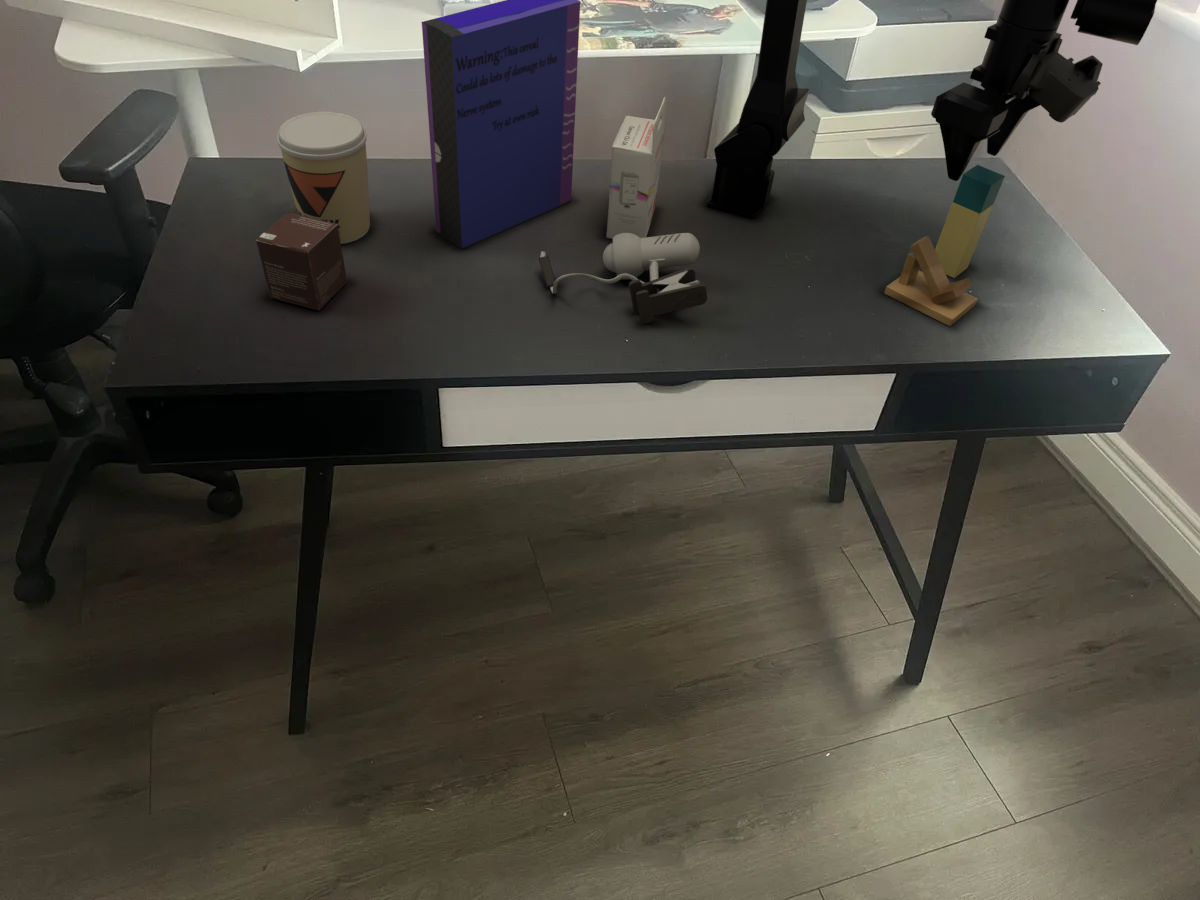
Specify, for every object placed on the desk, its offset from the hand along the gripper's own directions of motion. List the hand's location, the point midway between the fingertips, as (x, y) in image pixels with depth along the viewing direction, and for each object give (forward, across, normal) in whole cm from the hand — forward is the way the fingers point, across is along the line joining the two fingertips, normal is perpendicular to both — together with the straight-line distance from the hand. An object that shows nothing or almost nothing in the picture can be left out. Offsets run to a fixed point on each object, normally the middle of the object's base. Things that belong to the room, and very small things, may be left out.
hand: (972, 166), depth 101 cm
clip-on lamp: (+13, -34, +21) cm, 42 cm away
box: (+13, -59, +43) cm, 74 cm away
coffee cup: (+13, -49, +52) cm, 73 cm away
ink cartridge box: (+13, -22, +30) cm, 39 cm away
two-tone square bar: (+6, 0, -2) cm, 7 cm away
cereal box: (+13, -33, +41) cm, 54 cm away
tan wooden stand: (+12, -8, -3) cm, 15 cm away
